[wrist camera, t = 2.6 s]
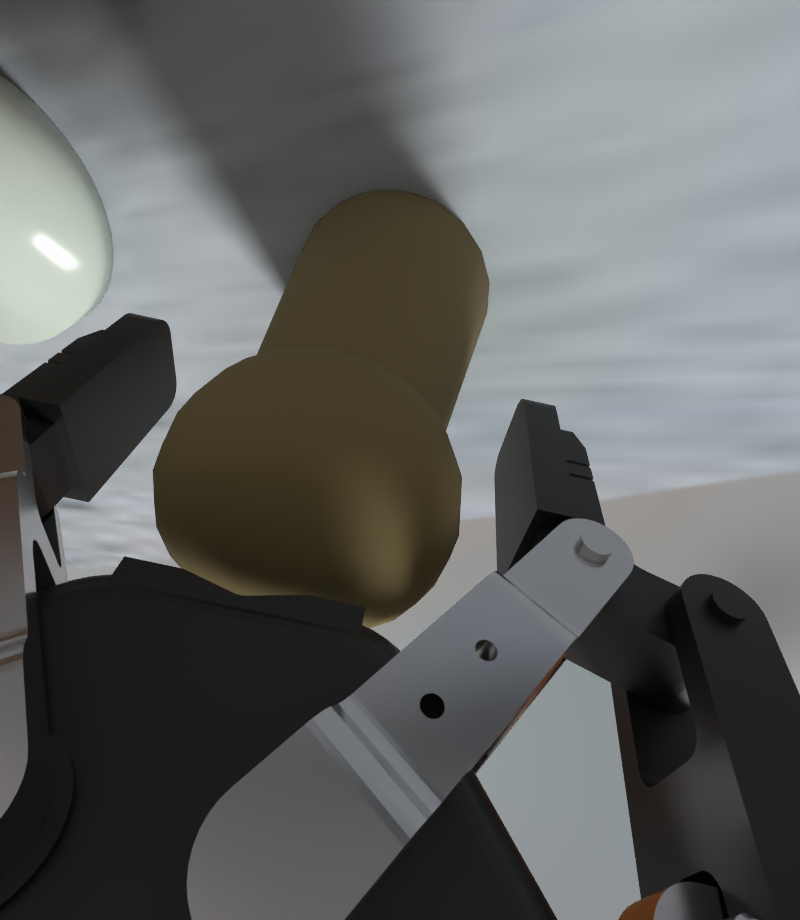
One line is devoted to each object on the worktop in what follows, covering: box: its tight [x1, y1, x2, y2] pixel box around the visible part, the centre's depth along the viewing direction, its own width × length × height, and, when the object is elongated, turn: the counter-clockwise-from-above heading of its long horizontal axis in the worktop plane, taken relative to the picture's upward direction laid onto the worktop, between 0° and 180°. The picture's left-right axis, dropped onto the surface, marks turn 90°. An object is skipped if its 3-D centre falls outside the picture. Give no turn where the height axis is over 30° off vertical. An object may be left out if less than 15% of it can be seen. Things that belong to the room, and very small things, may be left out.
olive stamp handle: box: [153, 191, 489, 628], centre depth 12 cm, size 6×6×11 cm
